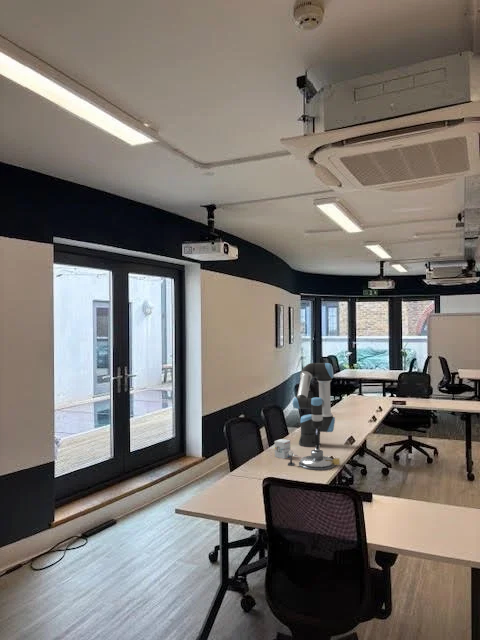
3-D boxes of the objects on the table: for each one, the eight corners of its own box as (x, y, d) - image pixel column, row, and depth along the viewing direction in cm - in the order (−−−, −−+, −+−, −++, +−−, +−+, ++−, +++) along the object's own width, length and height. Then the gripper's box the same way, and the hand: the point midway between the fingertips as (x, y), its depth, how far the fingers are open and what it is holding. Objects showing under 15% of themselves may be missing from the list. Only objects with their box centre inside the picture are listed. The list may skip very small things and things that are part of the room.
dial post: (288, 463, 323) (288, 449, 323) (298, 464, 321) (297, 449, 321) (287, 465, 319) (287, 450, 319) (297, 466, 317) (297, 451, 317)
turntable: (302, 457, 332) (302, 452, 332) (340, 459, 326) (340, 454, 326) (298, 466, 311) (298, 461, 311) (338, 469, 304) (338, 463, 304)
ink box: (281, 454, 347) (280, 438, 347) (291, 456, 342) (290, 440, 342) (274, 457, 340) (274, 440, 340) (284, 458, 335) (284, 442, 335)
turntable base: (301, 459, 333) (301, 457, 333) (336, 460, 327) (336, 459, 327) (296, 469, 310) (296, 467, 310) (333, 471, 304) (333, 469, 304)
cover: (312, 456, 327) (311, 447, 327) (323, 457, 325) (323, 447, 325) (310, 459, 319) (310, 450, 319) (322, 460, 317) (322, 450, 317)
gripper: (312, 418, 334) (313, 451, 334) (310, 421, 322) (311, 456, 321) (323, 418, 332) (324, 452, 332) (321, 422, 320) (322, 457, 319)
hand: (317, 454), depth 327 cm, fingers closed
